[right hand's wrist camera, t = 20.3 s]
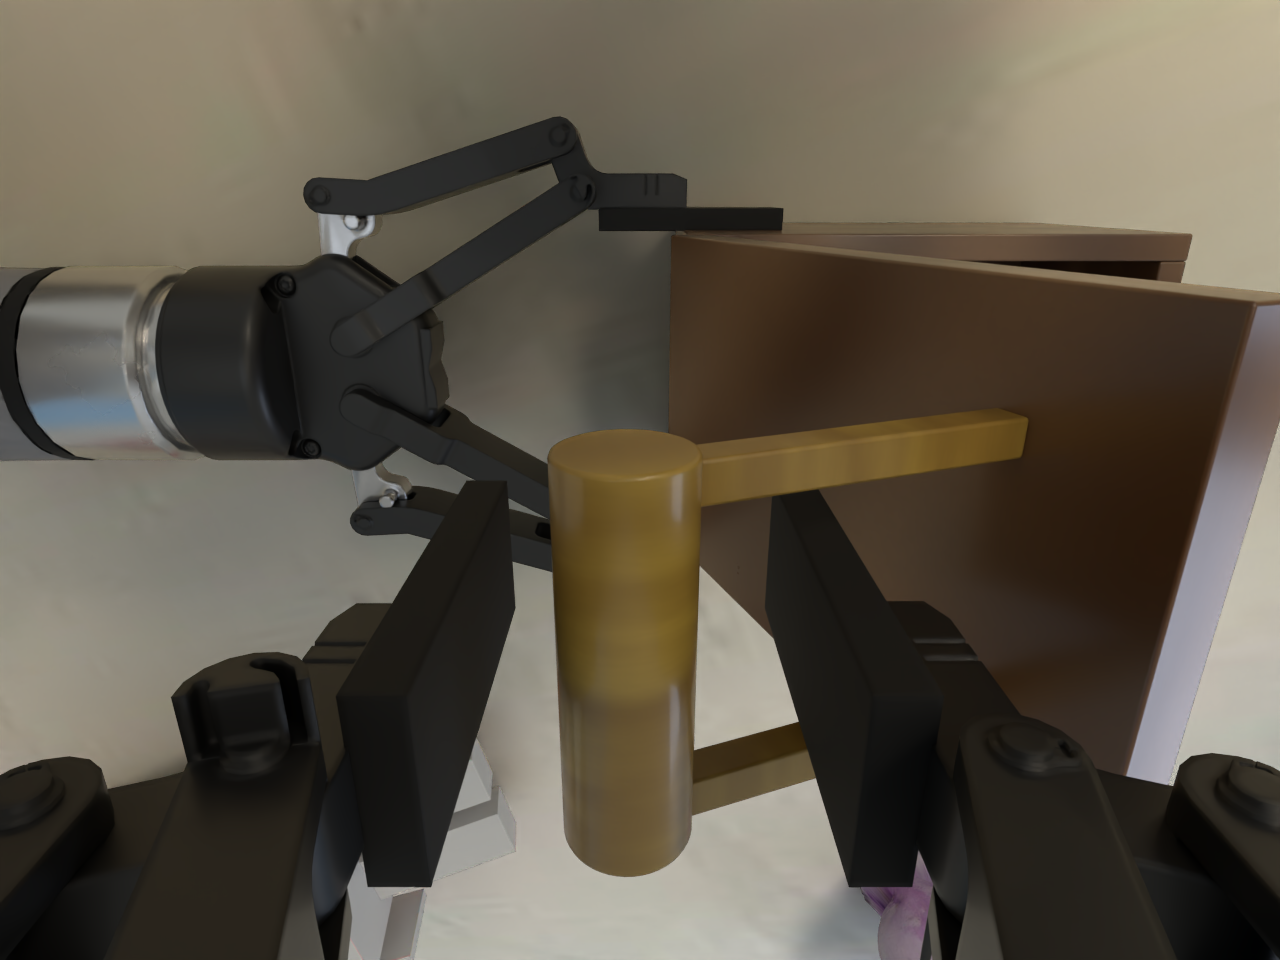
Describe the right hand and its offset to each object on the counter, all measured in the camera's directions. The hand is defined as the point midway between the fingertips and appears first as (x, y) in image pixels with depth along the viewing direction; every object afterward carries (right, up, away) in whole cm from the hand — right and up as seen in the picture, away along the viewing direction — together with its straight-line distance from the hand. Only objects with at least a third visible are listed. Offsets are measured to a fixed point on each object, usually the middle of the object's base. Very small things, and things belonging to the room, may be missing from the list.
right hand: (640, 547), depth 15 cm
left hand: (+5, +6, +15) cm, 17 cm away
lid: (+5, +1, +4) cm, 7 cm away
